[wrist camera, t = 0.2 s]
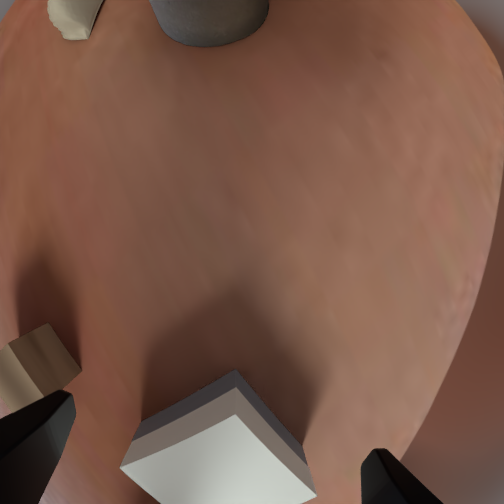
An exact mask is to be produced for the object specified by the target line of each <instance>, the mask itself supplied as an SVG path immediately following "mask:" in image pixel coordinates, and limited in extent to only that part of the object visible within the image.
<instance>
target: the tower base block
mask: <svg viewBox="0 0 504 504" xmlns="http://www.w3.org/2000/svg"><path fill="white" fill-rule="evenodd" d="M235 387H237V389H238V390H239V391H240V392H241V393H242V395H243V396H244V397H245V398H246V399H247V400H248V402H249V403H250V404H251V405H252V406H253V407H254V409H255V410H256V411H257V412H258V413H259V414H260V415H261V417H262V418H263V419H264V420H265V421H266V422H267V423H268V424H269V426H270V427H271V428H272V429H273V430H274V431H275V432H276V433H277V434H278V435H279V437H280V438H281V439H282V440H283V441H284V442H285V443H286V444H287V445H288V446H289V447H290V448H291V449H292V450H293V451H294V452H295V454H296V455H297V456H298V457H299V458H300V459H301V460H302V461H303V462H304V463H305V464H306V465H307V466H308V464H307V461H306V457H305V454H304V451H303V447H302V445H301V444H300V443H299V442H298V441H297V440H296V439H295V438H294V437H293V435H292V434H291V433H290V432H289V431H288V430H287V429H286V428H285V427H284V425H283V424H282V423H281V422H280V421H279V420H278V419H277V417H276V416H275V415H274V414H273V413H272V412H271V410H270V409H269V408H268V407H267V406H266V405H265V403H264V402H263V401H262V400H261V399H260V398H259V396H258V395H257V394H256V393H255V392H254V390H253V389H252V388H251V387H250V386H249V384H248V383H247V382H246V381H245V379H244V378H243V377H242V376H241V375H240V373H239V372H238V371H237V370H236V369H234V370H233V371H231V372H229V373H228V374H226V375H224V376H223V377H221V378H219V379H218V380H216V381H214V382H212V383H211V384H209V385H207V386H206V387H204V388H202V389H200V390H199V391H197V392H195V393H193V394H192V395H190V396H188V397H186V398H184V399H183V400H181V401H179V402H177V403H175V404H173V405H172V406H170V407H168V408H166V409H164V410H162V411H160V412H158V413H157V414H155V415H153V416H151V417H149V418H147V419H145V420H143V421H141V423H140V425H139V427H138V429H137V431H136V433H135V435H134V437H133V439H132V441H134V440H136V439H138V438H140V437H142V436H144V435H147V434H149V433H151V432H153V431H155V430H157V429H159V428H161V427H163V426H165V425H167V424H169V423H171V422H173V421H175V420H177V419H179V418H181V417H183V416H185V415H187V414H189V413H191V412H192V411H194V410H196V409H198V408H200V407H202V406H204V405H205V404H207V403H209V402H211V401H213V400H214V399H216V398H218V397H220V396H222V395H223V394H225V393H227V392H229V391H230V390H232V389H234V388H235Z"/></svg>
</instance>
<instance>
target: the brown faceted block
mask: <svg viewBox="0 0 504 504" xmlns="http://www.w3.org/2000/svg"><path fill="white" fill-rule="evenodd" d="M81 371H82V370H81V369H80V367H79V366H78V365H77V363H76V362H75V361H74V359H73V358H72V356H71V355H70V354H69V352H68V351H67V349H66V348H65V346H64V345H63V344H62V342H61V341H60V339H59V338H58V336H57V335H56V333H55V332H54V330H53V329H52V327H51V325H50V324H49V322H48V323H46V324H44V325H42V326H40V327H38V328H36V329H34V330H32V331H30V332H29V333H27V334H25V335H23V336H21V337H19V338H17V339H15V340H13V341H11V342H9V343H8V344H7V345H6V346H5V347H4V348H3V349H2V350H1V351H0V397H1V398H2V400H3V401H4V402H5V404H6V405H7V407H8V408H9V409H10V411H11V412H12V413H13V412H15V411H17V410H19V409H21V408H23V407H25V406H27V405H29V404H31V403H33V402H35V401H37V400H39V399H41V398H43V397H45V396H47V395H49V394H51V393H52V392H54V391H56V390H59V389H63V388H64V387H65V386H66V385H67V384H68V383H70V382H71V381H72V380H73V379H74V378H75V377H76V376H77V375H78V374H79V373H80V372H81Z"/></svg>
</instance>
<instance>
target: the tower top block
mask: <svg viewBox="0 0 504 504" xmlns="http://www.w3.org/2000/svg"><path fill="white" fill-rule="evenodd" d="M119 468H120V469H121V470H122V471H123V472H125V473H126V474H127V475H128V476H129V477H130V478H131V479H132V480H133V481H135V482H136V483H137V484H138V485H139V486H140V487H141V488H143V489H144V490H145V491H146V492H147V493H149V494H150V495H151V496H152V497H153V498H155V499H156V500H157V501H158V502H160V503H161V504H301V503H304V502H306V501H308V500H310V499H312V498H314V497H316V496H317V493H316V489H315V486H314V482H313V479H312V476H311V472H310V469H309V467H308V466H307V465H306V464H305V463H304V462H303V461H302V460H301V459H300V458H299V457H298V456H297V455H296V454H295V452H294V451H293V450H292V449H291V448H290V447H289V446H288V445H287V444H286V443H285V442H284V441H283V440H282V439H281V438H280V437H279V435H278V434H277V433H276V432H275V431H274V430H273V429H272V428H271V427H270V426H269V424H268V423H267V422H266V421H265V420H264V419H263V418H262V417H261V415H260V414H259V413H258V412H257V411H256V410H255V409H254V407H253V406H252V405H251V404H250V403H249V402H248V400H247V399H246V398H245V397H244V396H243V395H242V393H241V392H240V391H239V390H238V389H237V387H235V388H234V389H232V390H230V391H229V392H227V393H225V394H223V395H222V396H220V397H218V398H216V399H214V400H213V401H211V402H209V403H207V404H205V405H204V406H202V407H200V408H198V409H196V410H194V411H192V412H191V413H189V414H187V415H185V416H183V417H181V418H179V419H177V420H175V421H173V422H171V423H169V424H167V425H165V426H163V427H161V428H159V429H157V430H155V431H153V432H151V433H149V434H147V435H144V436H142V437H140V438H138V439H136V440H134V441H132V443H131V445H130V447H129V449H128V451H127V453H126V455H125V457H124V459H123V461H122V463H121V465H120V467H119Z"/></svg>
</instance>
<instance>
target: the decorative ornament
mask: <svg viewBox="0 0 504 504" xmlns="http://www.w3.org/2000/svg"><path fill="white" fill-rule="evenodd" d="M102 2H103V0H49V1H48V8H47V10H48V14H49V19H50V20H51V21H52V22H53V25H54V26H55V27H57V28H58V29H59V31H60V30H61V31H62V32H61V34H62V35H63V38H65V39H69V40H81V39H89V36H90V33H91V29H92V26H93V23H94V20H95V17H96V15H97V12H98V10H99V7H100V5H101V3H102Z"/></svg>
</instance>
